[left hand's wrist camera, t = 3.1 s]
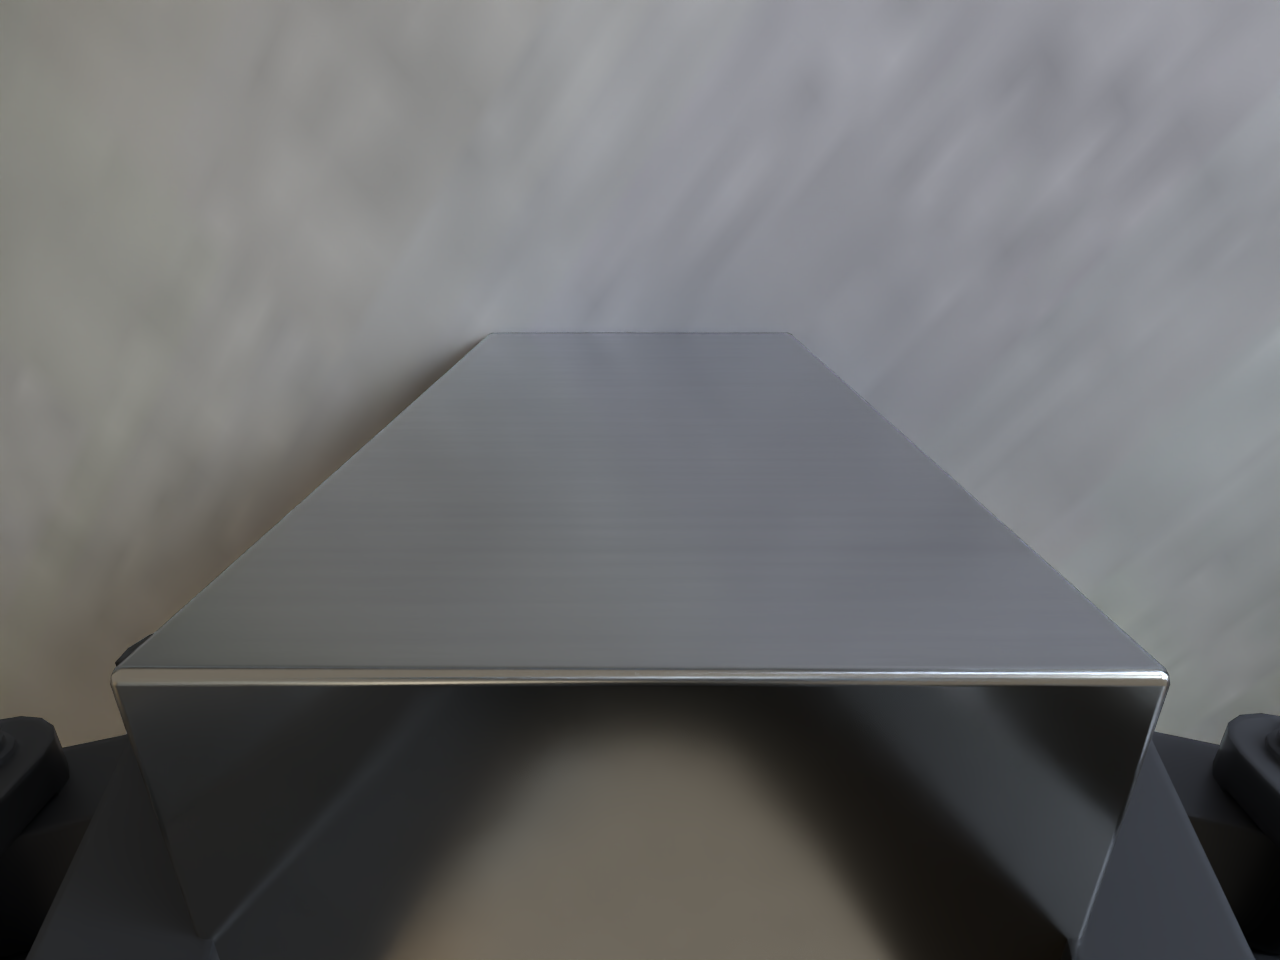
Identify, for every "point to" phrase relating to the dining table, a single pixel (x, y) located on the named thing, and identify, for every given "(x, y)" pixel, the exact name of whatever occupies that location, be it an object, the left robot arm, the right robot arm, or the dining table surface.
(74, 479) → the dining table surface
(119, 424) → the dining table surface
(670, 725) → the long box
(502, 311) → the dining table surface
